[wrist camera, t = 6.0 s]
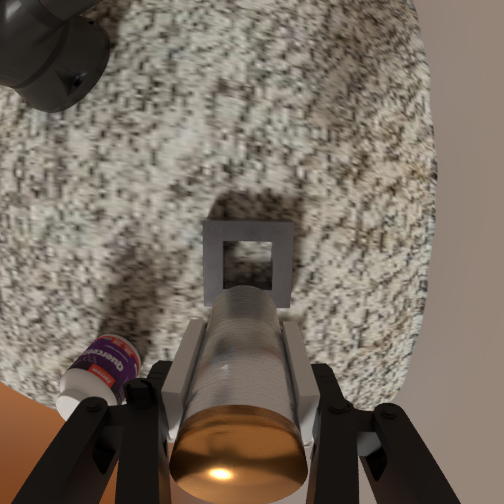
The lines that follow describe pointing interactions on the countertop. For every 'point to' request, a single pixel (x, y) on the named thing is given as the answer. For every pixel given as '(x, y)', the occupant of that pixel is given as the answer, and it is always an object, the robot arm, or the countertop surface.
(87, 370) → the pill bottle
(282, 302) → the socket block
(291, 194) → the countertop surface
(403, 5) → the countertop surface
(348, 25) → the countertop surface
